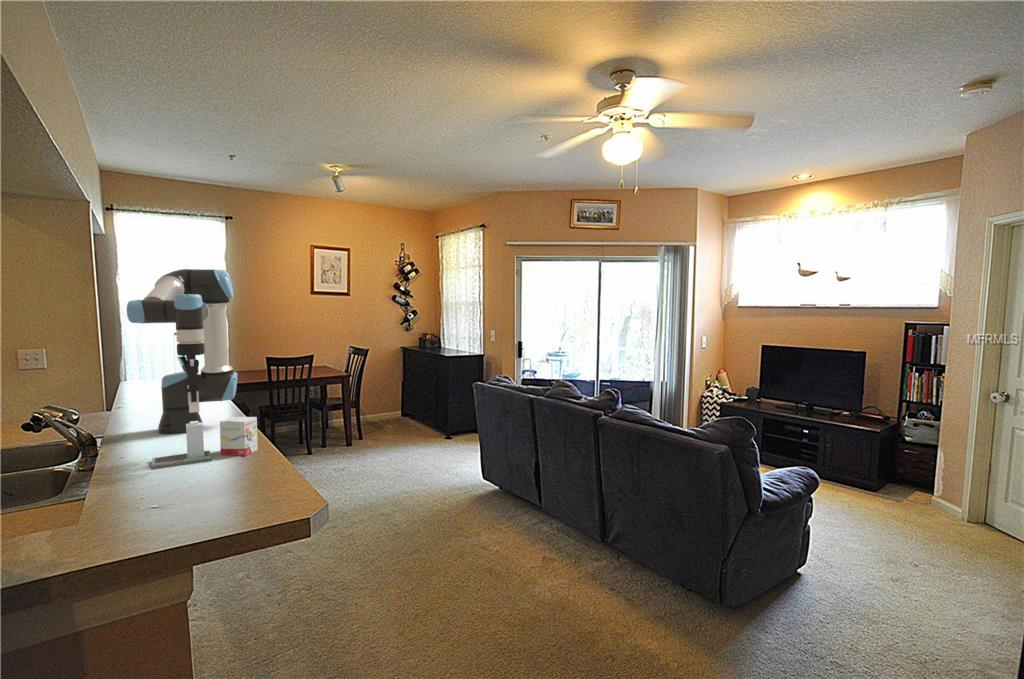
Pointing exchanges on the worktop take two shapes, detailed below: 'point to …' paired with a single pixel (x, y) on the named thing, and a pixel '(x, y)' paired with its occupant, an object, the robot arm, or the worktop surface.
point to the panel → (178, 460)
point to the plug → (195, 439)
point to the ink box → (238, 436)
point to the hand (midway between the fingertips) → (193, 408)
